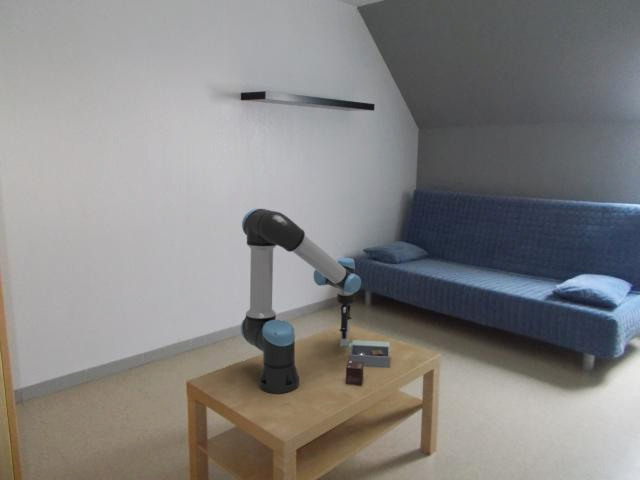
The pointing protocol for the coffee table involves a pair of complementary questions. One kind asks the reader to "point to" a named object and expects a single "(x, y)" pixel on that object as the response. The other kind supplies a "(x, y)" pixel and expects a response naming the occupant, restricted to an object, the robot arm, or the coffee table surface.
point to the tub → (367, 358)
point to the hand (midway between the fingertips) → (345, 339)
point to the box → (354, 373)
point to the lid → (366, 343)
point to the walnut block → (376, 353)
